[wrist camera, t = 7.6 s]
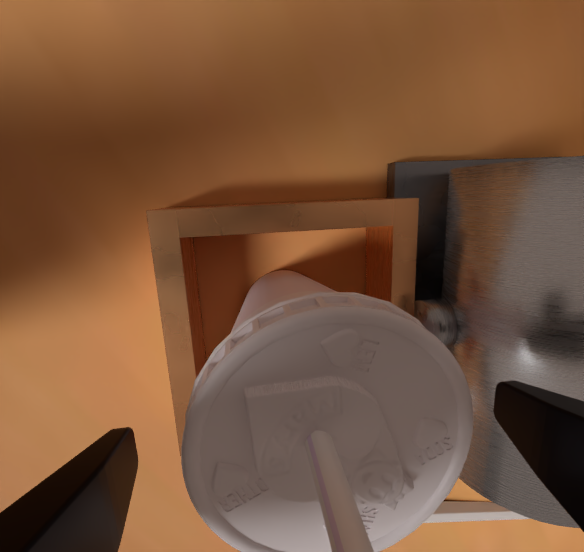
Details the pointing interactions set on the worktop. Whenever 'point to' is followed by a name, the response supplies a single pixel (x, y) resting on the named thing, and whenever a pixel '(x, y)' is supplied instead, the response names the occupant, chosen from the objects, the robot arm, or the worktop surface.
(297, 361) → the white cup with straw
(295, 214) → the motor unit
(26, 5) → the worktop surface
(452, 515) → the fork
